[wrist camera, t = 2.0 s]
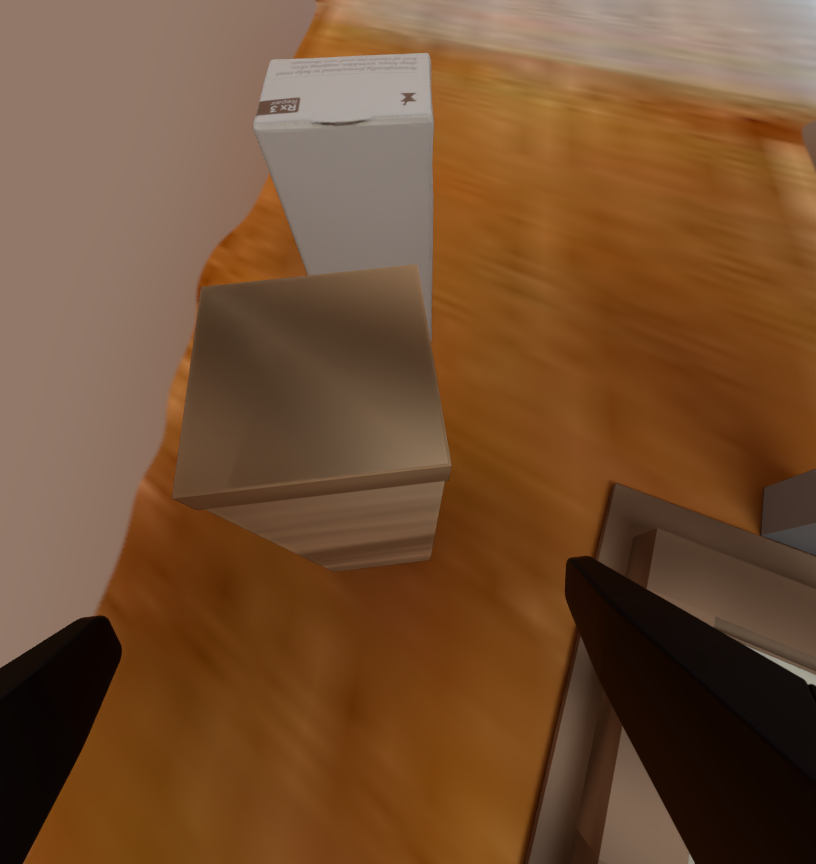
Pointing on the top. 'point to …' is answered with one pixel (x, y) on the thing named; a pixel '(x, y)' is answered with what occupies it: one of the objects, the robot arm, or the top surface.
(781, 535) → the grey l-shaped rod
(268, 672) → the top surface
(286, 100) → the skincare box
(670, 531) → the tan flat wooden frame
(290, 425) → the peg
